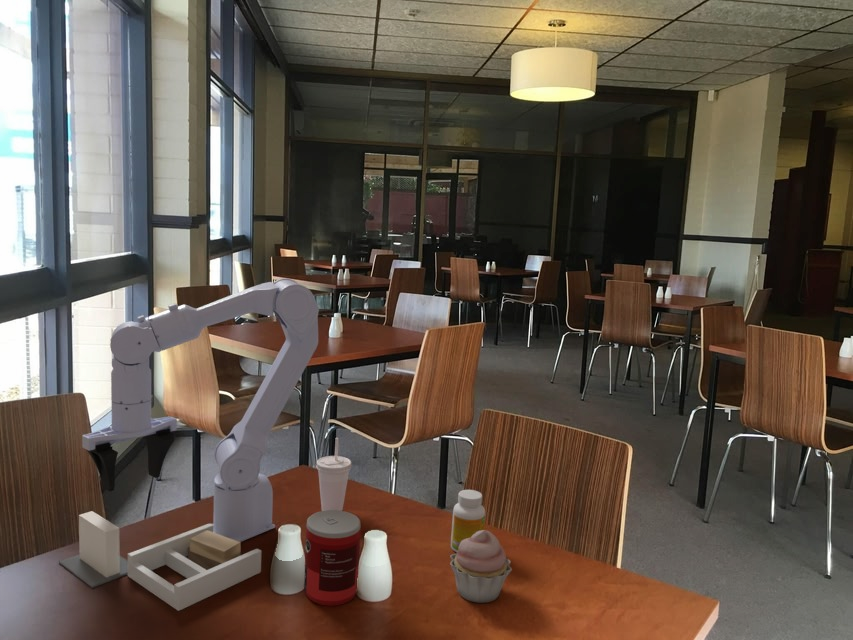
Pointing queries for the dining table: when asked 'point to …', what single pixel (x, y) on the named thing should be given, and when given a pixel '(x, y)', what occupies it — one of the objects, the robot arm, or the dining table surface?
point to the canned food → (332, 557)
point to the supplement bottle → (467, 517)
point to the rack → (188, 570)
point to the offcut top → (215, 546)
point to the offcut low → (202, 560)
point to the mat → (91, 571)
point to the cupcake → (480, 567)
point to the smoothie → (333, 480)
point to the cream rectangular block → (99, 543)
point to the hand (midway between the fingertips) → (132, 482)
